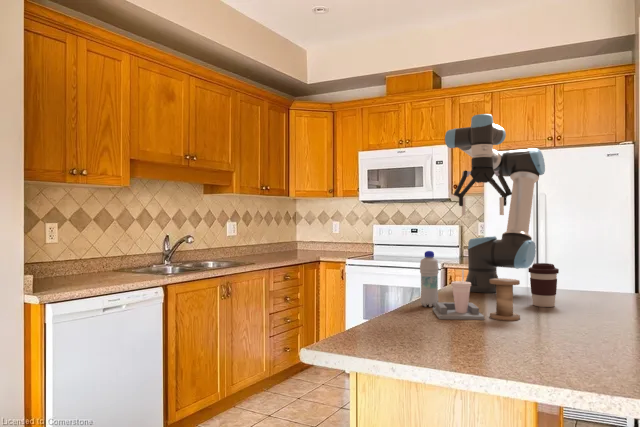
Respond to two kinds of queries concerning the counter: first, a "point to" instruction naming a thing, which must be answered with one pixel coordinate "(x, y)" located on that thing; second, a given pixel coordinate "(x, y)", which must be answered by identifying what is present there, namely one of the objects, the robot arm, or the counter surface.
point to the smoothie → (461, 294)
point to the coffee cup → (543, 284)
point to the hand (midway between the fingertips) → (482, 215)
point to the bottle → (429, 280)
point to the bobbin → (504, 299)
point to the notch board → (448, 312)
